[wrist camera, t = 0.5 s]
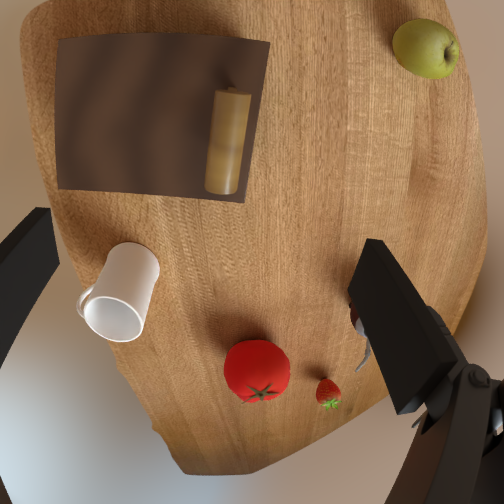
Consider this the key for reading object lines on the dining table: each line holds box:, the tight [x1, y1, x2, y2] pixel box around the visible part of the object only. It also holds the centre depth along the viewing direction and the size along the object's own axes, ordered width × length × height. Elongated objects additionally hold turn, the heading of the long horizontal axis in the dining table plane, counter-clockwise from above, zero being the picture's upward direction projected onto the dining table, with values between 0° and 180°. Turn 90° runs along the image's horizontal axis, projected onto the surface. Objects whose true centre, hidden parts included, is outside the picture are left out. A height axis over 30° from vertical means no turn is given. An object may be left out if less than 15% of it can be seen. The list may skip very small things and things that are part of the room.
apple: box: [392, 19, 459, 79], centre depth 28 cm, size 8×8×10 cm
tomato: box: [224, 340, 290, 403], centre depth 54 cm, size 12×12×11 cm
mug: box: [76, 242, 160, 342], centre depth 42 cm, size 12×8×12 cm
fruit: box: [316, 379, 341, 410], centre depth 63 cm, size 5×5×8 cm
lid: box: [55, 33, 270, 203], centre depth 22 cm, size 19×15×10 cm
